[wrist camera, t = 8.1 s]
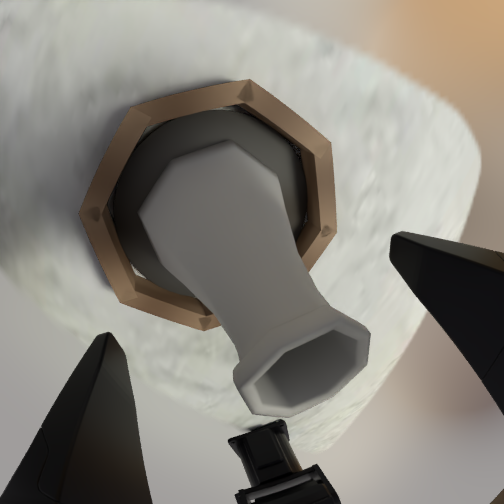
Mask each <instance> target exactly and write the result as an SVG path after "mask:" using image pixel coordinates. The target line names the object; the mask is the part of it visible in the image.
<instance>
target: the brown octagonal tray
mask: <svg viewBox="0 0 504 504" xmlns="http://www.w3.org/2000/svg"><path fill="white" fill-rule="evenodd" d="M235 104H237V105H238V106H240V107H241V108H243V109H244V110H246V111H247V112H249V113H250V114H252V115H253V116H255V117H256V118H258V119H256V118H254V117H252V116H249V115H246V114H242V113H238V112H233V111H224V110H211V109H215V108H220V107H225V106H230V105H235ZM206 110H209V111H206ZM174 118H176V119H174ZM171 119H174V120H172V121H170V122H168V123H166V124H164V125H163V126H161V127H160V128H158V129H157V130H155V131H154V132H153V133H151V134H150V135H149V136H148V137H147V138H146V139H145V140H144V141H143V142H142V143H141V144H140V145H139V146H138V147H137V149H136V150H135V151H134V152H133V150H134V148H135V146H136V145H137V143H138V141H139V139H140V138H141V136H142V134H143V132H144V131H145V129H146V127H147V126H150V125H154V124H157V123H160V122H164V121H167V120H171ZM284 138H286V139H287V140H288V141H290V142H291V143H292V144H294V145H295V146H296V147H298V148H299V149H300V153H301V161H302V165H301V163H300V161H299V159H298V157H297V155H296V153H295V152H294V150H293V149H292V147H291V146H290V144H289V143H288V142H287V141H286V140H285V139H284ZM231 139H232V140H233V141H235V142H236V143H237V144H239V145H240V146H241V147H243V148H244V149H245V150H247V151H248V152H249V153H251V154H252V155H253V156H254V157H256V158H257V159H258V160H260V161H261V162H262V163H263V164H265V165H266V166H267V167H269V168H270V169H271V170H272V171H274V172H275V173H276V174H277V176H278V180H279V183H280V187H281V192H282V196H283V200H284V205H285V209H286V213H287V216H288V220H289V223H290V226H291V230H292V233H293V237H294V240H295V244H296V248H297V251H298V254H299V256H300V257H301V259H302V261H303V263H304V265H305V267H306V269H307V271H308V272H309V271H310V270H311V268H312V267H313V265H314V264H315V263H316V261H317V260H318V258H319V257H320V256H321V254H322V253H323V251H324V250H325V249H326V247H327V246H328V244H329V243H330V242H331V240H332V239H333V237H334V236H335V234H336V233H337V221H336V200H335V184H334V170H333V158H332V147H331V142H330V141H329V140H327V139H326V138H325V137H324V136H323V135H322V134H321V133H319V132H318V131H317V130H316V129H315V128H313V127H312V126H311V125H310V124H309V123H307V122H306V121H305V120H304V119H303V118H301V117H300V116H299V115H298V114H296V113H295V112H294V111H293V110H291V109H290V108H289V107H287V106H286V105H285V104H283V103H282V102H281V101H280V100H278V99H277V98H276V97H274V96H273V95H271V94H270V93H269V92H267V91H266V90H265V89H263V88H262V87H260V86H259V85H258V84H256V83H255V82H253V81H252V80H250V79H248V80H241V81H235V82H229V83H224V84H218V85H213V86H208V87H203V88H199V89H194V90H190V91H186V92H182V93H178V94H174V95H170V96H166V97H163V98H159V99H155V100H152V101H149V102H145V103H142V104H139V105H136V106H133V107H130V109H129V111H128V112H127V114H126V116H125V118H124V119H123V121H122V123H121V125H120V126H119V128H118V130H117V132H116V134H115V135H114V137H113V139H112V141H111V143H110V145H109V147H108V149H107V151H106V153H105V155H104V157H103V159H102V161H101V163H100V165H99V167H98V169H97V171H96V174H95V176H94V178H93V180H92V182H91V185H90V187H89V189H88V192H87V194H86V196H85V199H84V201H83V204H82V206H81V209H80V211H79V216H80V218H81V221H82V223H83V226H84V228H85V231H86V233H87V235H88V238H89V240H90V242H91V244H92V247H93V249H94V251H95V253H96V256H97V258H98V260H99V262H100V264H101V266H102V268H103V270H104V272H105V274H106V276H107V278H108V280H109V282H110V284H111V286H112V288H113V290H114V292H115V294H116V296H117V298H118V300H119V302H120V303H122V304H125V305H127V306H130V307H133V308H136V309H138V310H141V311H144V312H147V313H150V314H152V315H155V316H158V317H161V318H164V319H167V320H170V321H173V322H176V323H179V324H182V325H185V326H189V327H192V328H195V329H198V330H202V331H206V330H209V329H212V328H215V327H218V326H221V324H220V322H219V321H218V319H217V318H216V316H215V315H214V314H213V313H212V312H211V311H210V310H209V309H208V308H207V307H206V306H205V305H204V304H203V303H202V302H201V301H200V300H199V299H197V298H194V297H196V296H195V295H194V294H193V293H192V292H191V291H190V290H189V289H188V288H187V287H186V286H185V285H184V284H183V283H182V282H180V281H179V280H178V279H177V278H176V277H175V276H174V275H173V274H171V273H170V272H169V271H168V270H167V269H166V268H165V267H164V266H163V265H162V264H161V263H160V261H159V259H158V257H157V255H156V253H155V251H154V249H153V246H152V244H151V242H150V240H149V238H148V235H147V233H146V231H145V229H144V226H143V224H142V222H141V220H140V217H139V215H138V213H137V212H138V210H139V209H140V207H141V205H142V204H143V202H144V200H145V199H146V197H147V196H148V194H149V192H150V191H151V189H152V188H153V186H154V185H155V183H156V182H157V180H158V178H159V177H160V175H161V174H162V172H163V171H164V169H165V168H166V166H167V165H168V164H169V162H170V161H171V160H172V159H174V158H177V157H180V156H183V155H186V154H188V153H191V152H194V151H197V150H200V149H203V148H206V147H209V146H212V145H215V144H218V143H222V142H225V141H228V140H231ZM132 152H133V154H132ZM131 154H132V155H131ZM130 156H131V157H130ZM129 157H130V158H129ZM128 159H129V160H128ZM127 161H128V162H127ZM121 173H122V174H121ZM120 175H121V176H120ZM119 177H120V178H119ZM118 179H119V182H118V185H117V189H116V193H115V201H114V221H115V225H114V222H113V220H112V217H111V215H110V212H109V209H108V206H107V202H108V200H109V198H110V196H111V193H112V191H113V189H114V187H115V185H116V183H117V181H118ZM306 211H307V216H308V221H307V222H306V224H305V225H304V227H303V224H304V220H305V215H306ZM115 226H116V228H115ZM302 227H303V228H302ZM301 229H302V230H301ZM129 260H130V261H131V263H132V264H133V265H134V267H135V268H136V269H137V270H138V271H139V272H140V273H141V274H142V275H143V276H145V277H146V278H147V279H148V280H147V279H144V278H142V277H140V276H137V275H135V273H134V271H133V268H132V266H131V264H130V262H129ZM149 280H150V281H149Z"/></svg>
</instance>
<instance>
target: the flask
mask: <svg viewBox="0 0 504 504" xmlns="http://www.w3.org/2000/svg"><path fill="white" fill-rule="evenodd" d="M137 213H138V215H139V217H140V220H141V222H142V224H143V226H144V229H145V231H146V233H147V235H148V238H149V240H150V242H151V244H152V246H153V249H154V251H155V253H156V255H157V257H158V259H159V261H160V263H161V264H162V265H163V266H164V267H165V268H166V269H167V270H168V271H169V272H170V273H171V274H173V275H174V276H175V277H176V278H177V279H178V280H179V281H180V282H182V283H183V284H184V285H185V286H186V287H187V288H188V289H189V290H190V291H191V292H192V293H193V294H194V295H195V296H196V297H197V298H198V299H199V300H200V301H201V302H202V303H203V304H204V305H205V306H206V307H207V308H208V309H209V310H210V311H211V312H212V313H213V314H214V315H215V316H216V318H217V319H218V321H219V322H220V324H221V325H222V327H223V328H224V330H225V331H226V333H227V334H228V336H229V337H230V339H231V340H232V342H233V343H234V345H235V347H236V350H237V352H238V356H239V360H240V362H239V363H238V364H237V366H236V367H235V368H234V370H233V381H234V383H235V385H236V388H237V390H238V391H239V393H240V395H241V396H242V398H243V400H244V401H245V403H246V405H247V406H248V408H249V410H250V411H251V413H252V414H255V415H263V416H273V417H285V418H290V417H292V416H294V415H296V414H299V413H301V412H303V411H305V410H307V409H310V408H312V407H314V406H316V405H318V404H320V403H322V402H324V401H326V400H328V399H330V398H332V397H333V396H335V395H336V394H337V393H338V392H339V391H340V390H341V389H342V388H343V387H344V386H346V385H347V384H348V383H349V382H350V381H351V380H352V379H353V378H354V377H355V376H356V375H357V374H358V373H359V372H360V371H361V370H362V369H363V368H364V367H365V366H366V365H367V362H368V354H369V345H370V335H371V333H370V332H369V331H368V329H367V328H366V327H365V326H364V325H362V324H361V323H359V322H357V321H356V320H354V319H352V318H350V317H348V316H347V315H345V314H343V313H341V312H340V311H338V310H336V309H334V308H332V307H331V306H330V305H329V303H328V302H327V301H326V300H325V298H324V297H323V296H322V295H321V294H320V292H319V291H318V290H317V288H316V286H315V284H314V282H313V280H312V278H311V276H310V274H309V273H308V271H307V269H306V267H305V265H304V263H303V261H302V259H301V257H300V256H299V254H298V251H297V248H296V244H295V240H294V237H293V233H292V230H291V226H290V223H289V220H288V216H287V213H286V209H285V205H284V200H283V196H282V192H281V187H280V183H279V180H278V176H277V174H276V173H275V172H274V171H272V170H271V169H270V168H269V167H267V166H266V165H265V164H263V163H262V162H261V161H260V160H258V159H257V158H256V157H254V156H253V155H252V154H251V153H249V152H248V151H247V150H245V149H244V148H243V147H241V146H240V145H239V144H237V143H236V142H235V141H233V140H232V139H231V140H228V141H225V142H222V143H218V144H215V145H212V146H209V147H206V148H203V149H200V150H197V151H194V152H191V153H188V154H186V155H183V156H180V157H177V158H174V159H172V160H171V161H170V162H169V164H168V165H167V166H166V168H165V169H164V171H163V172H162V174H161V175H160V177H159V178H158V180H157V182H156V183H155V185H154V186H153V188H152V189H151V191H150V192H149V194H148V196H147V197H146V199H145V200H144V202H143V204H142V205H141V207H140V209H139V210H138V212H137Z"/></svg>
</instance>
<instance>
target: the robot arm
mask: <svg viewBox="0 0 504 504" xmlns="http://www.w3.org/2000/svg"><path fill="white" fill-rule="evenodd" d="M389 258H390V261H391V263H392V264H393V266H394V267H395V268H396V270H397V271H398V272H399V274H400V275H401V277H402V278H403V279H404V281H405V282H406V283H407V285H408V286H409V288H410V289H411V290H412V292H413V293H414V294H415V296H416V297H417V298H418V299H419V301H420V302H421V303H422V304H423V305H424V306H425V308H426V309H427V310H428V311H429V312H430V314H431V315H432V316H433V317H434V318H435V320H436V321H437V322H438V323H439V325H440V326H441V327H442V328H443V329H444V331H445V332H446V333H447V335H448V336H449V337H450V339H451V340H452V341H453V342H454V344H455V345H456V346H457V348H458V349H459V350H460V352H461V353H462V354H463V356H464V357H465V358H466V360H467V361H468V363H469V364H470V365H471V367H472V368H473V369H474V371H475V372H476V374H477V375H478V377H479V378H480V379H481V380H482V383H483V384H484V386H485V387H486V389H487V390H488V392H489V393H490V395H491V396H492V398H493V399H494V401H495V402H496V404H497V406H498V407H499V409H500V410H501V412H502V414H503V415H504V253H502V252H497V251H493V250H489V249H485V248H480V247H475V246H471V245H467V244H463V243H458V242H454V241H449V240H444V239H439V238H435V237H430V236H425V235H420V234H415V233H410V232H404V231H401V232H398V233H395V234H393V235H392V237H391V242H390V253H389ZM41 427H42V428H40V429H39V431H38V433H37V435H36V436H35V438H34V440H33V442H32V444H31V445H30V447H29V449H28V451H27V453H26V454H25V456H24V458H23V459H22V461H21V463H20V465H19V466H18V468H17V470H16V471H15V473H14V475H13V476H12V478H11V480H10V481H9V483H8V485H7V487H6V488H5V490H4V492H3V494H2V495H1V497H0V504H153V503H152V499H151V495H150V490H149V486H148V481H147V476H146V471H145V466H144V461H143V456H142V449H141V443H140V436H139V430H138V422H137V414H136V407H135V401H134V395H133V391H132V386H131V381H130V376H129V370H128V365H127V359H126V355H125V353H124V351H123V349H122V348H121V346H120V345H119V343H118V342H117V340H116V339H115V337H114V336H113V334H112V333H110V332H106V333H103V334H99V335H97V336H96V338H95V339H94V341H93V342H92V344H91V345H90V347H89V348H88V350H87V351H86V353H85V354H84V356H83V357H82V359H81V360H80V362H79V363H78V365H77V366H76V368H75V370H74V371H73V373H72V374H71V376H70V378H69V379H68V381H67V383H66V384H65V386H64V388H63V389H62V391H61V392H60V394H59V396H58V397H57V399H56V401H55V402H54V405H53V406H52V408H51V409H50V411H49V413H48V414H47V416H46V418H45V420H44V422H43V423H42V425H41ZM288 441H289V435H288V430H287V425H286V422H285V421H284V420H282V421H279V422H276V423H274V424H271V425H268V426H266V427H263V428H260V429H257V430H254V431H251V432H248V433H245V434H242V435H239V436H236V437H233V438H230V439H228V443H229V445H230V446H231V447H232V449H233V450H234V451H235V453H236V454H237V455H238V456H239V457H240V458H241V461H242V463H243V466H244V469H245V471H246V474H247V476H248V479H249V482H250V484H251V488H248V489H241V490H238V491H239V493H237V494H235V498H236V500H237V503H238V504H341V502H340V499H339V497H338V495H337V493H336V491H335V490H334V488H333V487H332V485H331V484H330V482H329V481H328V479H327V478H326V476H325V475H324V473H323V472H322V470H321V469H320V467H319V466H318V465H317V464H315V465H312V467H309V468H307V469H304V470H302V468H301V466H300V464H299V462H298V460H297V458H296V456H295V454H294V452H293V450H292V448H291V446H290V444H289V442H288ZM253 499H255V502H253V503H251V501H250V500H253ZM490 504H504V489H503V490H502V491H501V492H500V493H499V495H498V496H497V497H496V498H495V499H494V500H493V501H492V502H491V503H490Z"/></svg>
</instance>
